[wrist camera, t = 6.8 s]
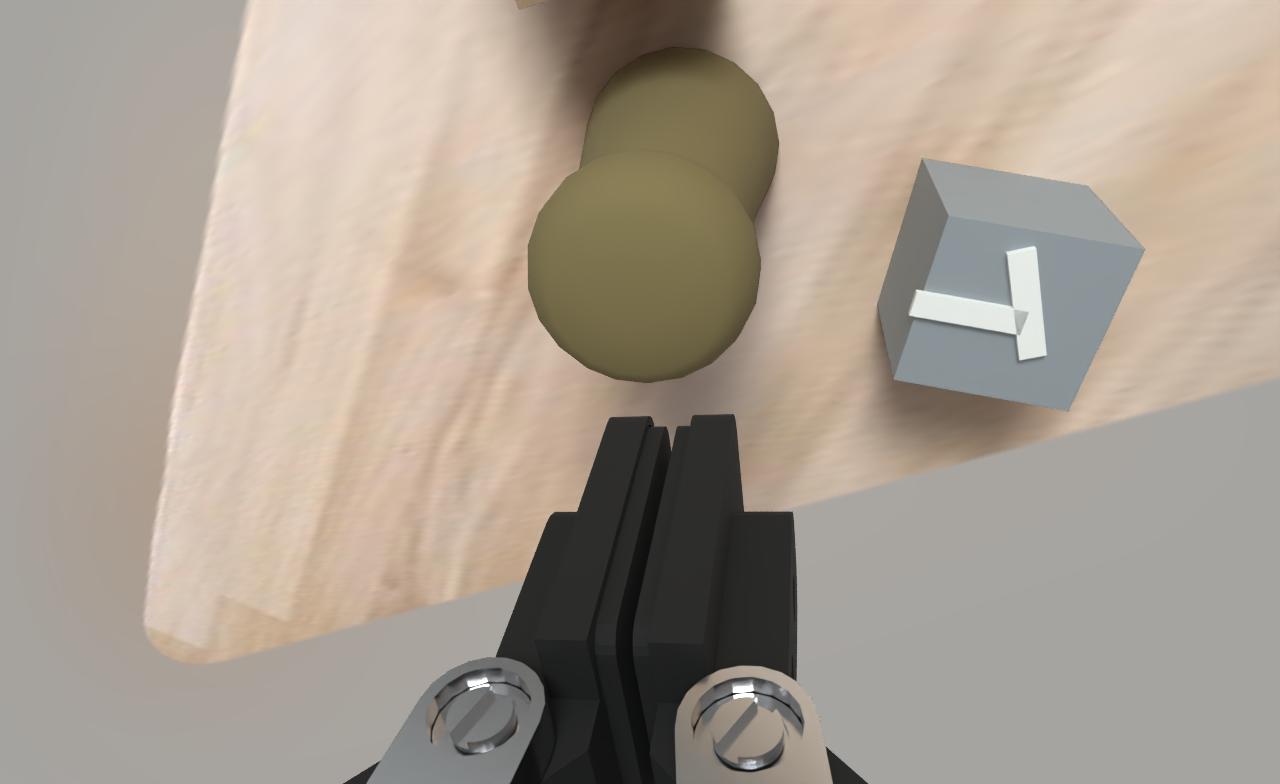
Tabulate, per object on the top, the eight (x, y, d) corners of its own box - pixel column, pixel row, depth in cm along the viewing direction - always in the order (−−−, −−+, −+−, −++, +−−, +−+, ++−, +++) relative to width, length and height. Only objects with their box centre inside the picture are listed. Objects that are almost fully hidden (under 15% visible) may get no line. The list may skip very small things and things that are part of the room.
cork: (710, 272, 30) (680, 468, 20) (553, 177, 29) (445, 338, 19) (819, 117, 26) (841, 265, 17) (646, 5, 25) (572, 97, 16)
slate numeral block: (1087, 185, 27) (1148, 252, 22) (1026, 329, 29) (1070, 415, 25) (915, 156, 27) (942, 216, 22) (871, 302, 29) (887, 381, 25)
